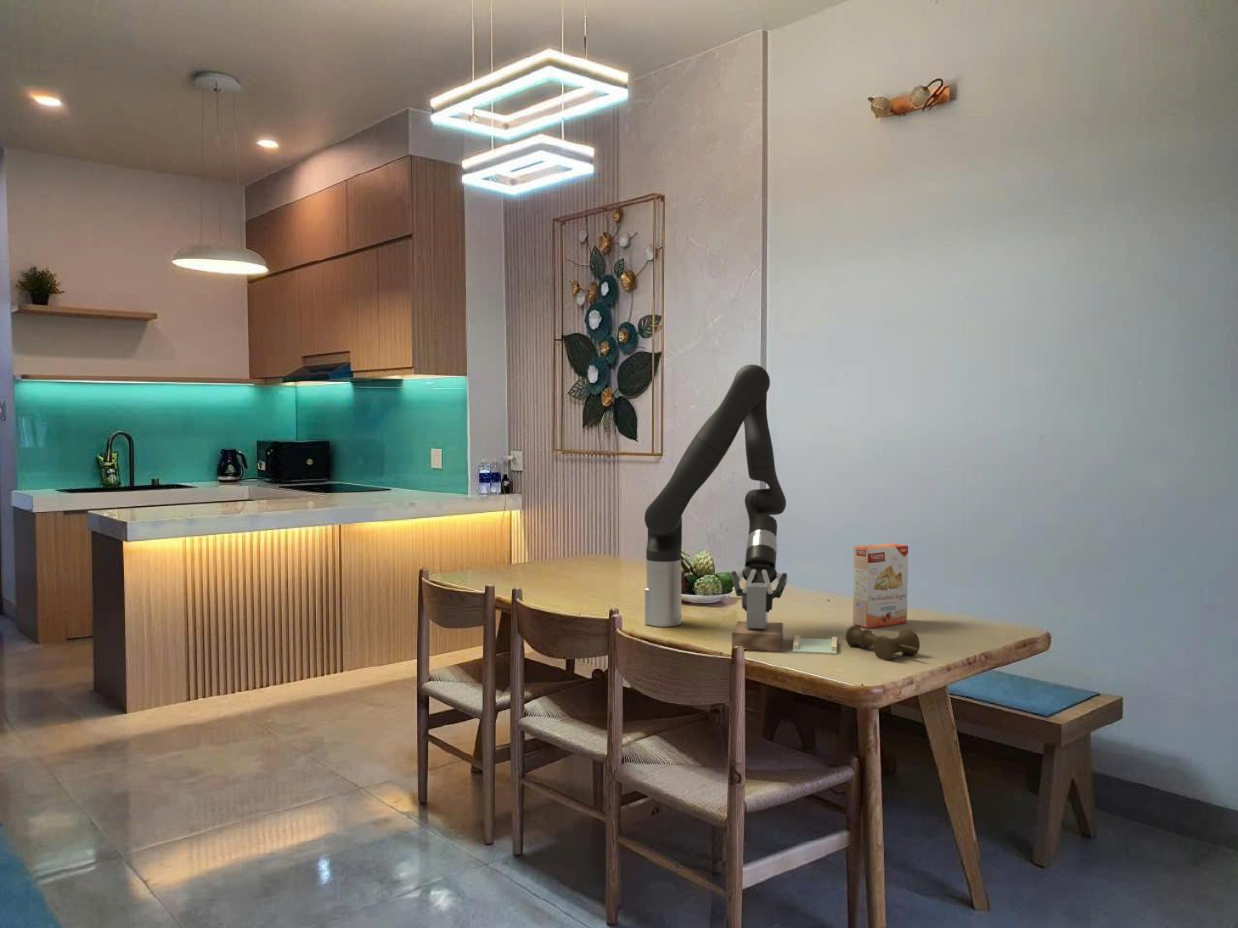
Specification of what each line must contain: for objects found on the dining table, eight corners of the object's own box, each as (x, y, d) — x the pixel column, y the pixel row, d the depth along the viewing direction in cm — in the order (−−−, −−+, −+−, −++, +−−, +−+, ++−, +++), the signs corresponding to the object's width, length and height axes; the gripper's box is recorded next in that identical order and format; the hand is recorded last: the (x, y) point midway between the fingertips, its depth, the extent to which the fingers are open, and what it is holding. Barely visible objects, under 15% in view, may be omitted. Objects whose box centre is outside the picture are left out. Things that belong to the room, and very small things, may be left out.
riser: (732, 649, 219) (731, 632, 219) (738, 637, 232) (738, 621, 232) (779, 651, 217) (779, 634, 217) (782, 639, 229) (782, 622, 229)
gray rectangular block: (746, 627, 222) (746, 586, 221) (749, 622, 228) (749, 581, 227) (765, 628, 221) (765, 587, 220) (767, 623, 227) (767, 582, 226)
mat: (792, 652, 216) (792, 646, 216) (795, 639, 229) (795, 633, 229) (836, 654, 214) (836, 648, 214) (837, 641, 226) (837, 635, 226)
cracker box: (868, 629, 239) (868, 548, 238) (852, 624, 245) (852, 545, 244) (908, 623, 246) (909, 544, 245) (892, 619, 251) (892, 542, 250)
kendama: (866, 644, 225) (933, 659, 208) (837, 651, 220) (903, 667, 203) (865, 620, 225) (932, 633, 208) (836, 626, 220) (902, 639, 203)
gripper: (731, 542, 232) (725, 599, 221) (789, 544, 229) (786, 602, 218) (733, 560, 238) (728, 617, 227) (790, 562, 234) (787, 619, 223)
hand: (756, 609), depth 222 cm, fingers closed on gray rectangular block, 4 cm apart
